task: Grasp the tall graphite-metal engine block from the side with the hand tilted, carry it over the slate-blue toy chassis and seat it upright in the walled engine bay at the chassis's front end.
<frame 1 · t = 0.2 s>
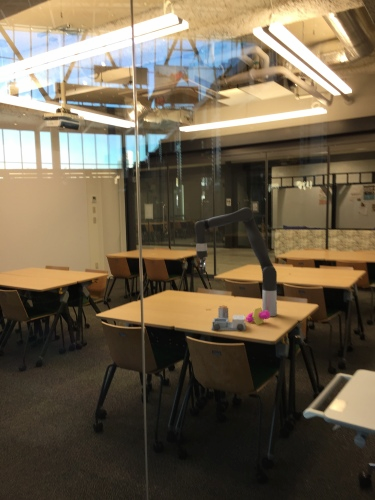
hand: (203, 273, 278), 28 cm above the table, tool pointing down, fingers open, 8 cm apart
chassis: (228, 327, 249), on the table
engine block: (223, 321, 262), on the table
toy: (258, 322, 258), on the table
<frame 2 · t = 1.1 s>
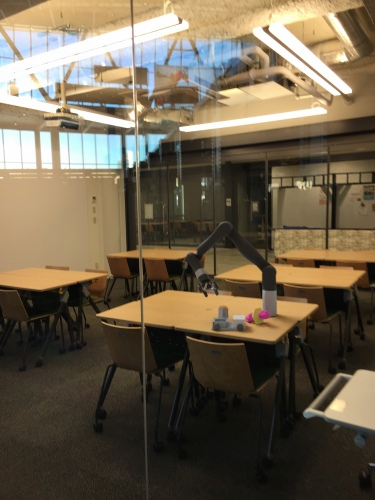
hand: (212, 295, 271), 15 cm above the table, tool tilted 45°, fingers open, 8 cm apart
nothing on the table moved.
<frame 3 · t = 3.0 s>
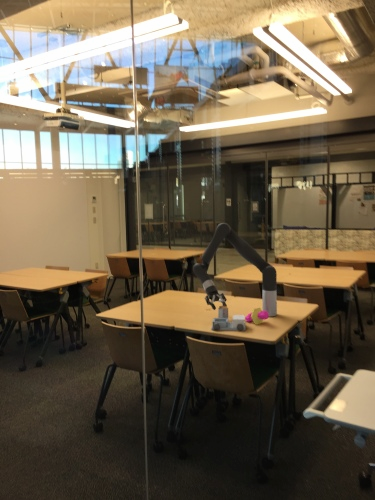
hand: (220, 308, 264), 8 cm above the table, tool tilted 45°, fingers open, 8 cm apart
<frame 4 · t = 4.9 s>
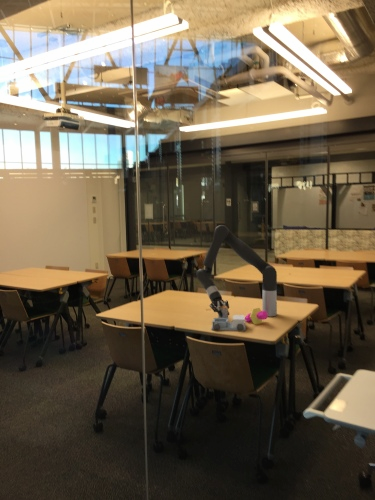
hand: (225, 315, 260), 4 cm above the table, tool tilted 45°, fingers closed on engine block, 4 cm apart
engine block: (223, 321, 262), on the table, touching gripper
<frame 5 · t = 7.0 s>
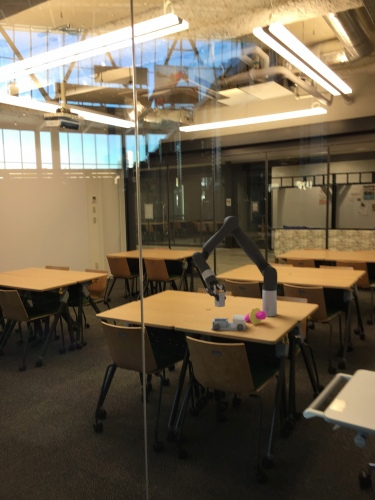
hand: (221, 300, 251), 16 cm above the table, tool tilted 45°, fingers closed on engine block, 4 cm apart
engine block: (219, 306, 253), point 12 cm above the table, touching gripper
when the fingers open (7 cm above the table, at t = 9.4 s): engine block drops 1 cm, resting on chassis.
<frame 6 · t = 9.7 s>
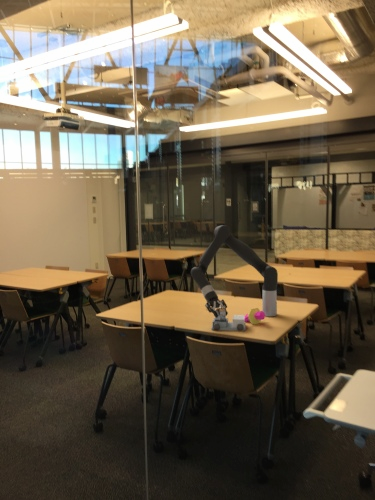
hand: (222, 315, 248), 7 cm above the table, tool tilted 45°, fingers open, 7 cm apart
engine block: (220, 324, 250), point 1 cm above the table, touching chassis
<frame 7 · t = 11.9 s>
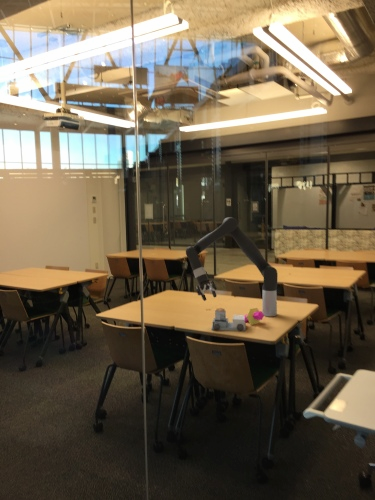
hand: (210, 298, 262), 15 cm above the table, tool tilted 25°, fingers open, 8 cm apart
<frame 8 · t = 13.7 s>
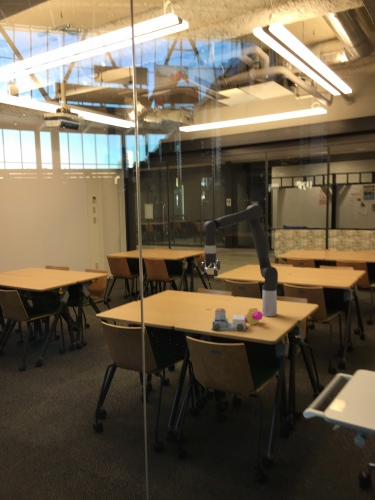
hand: (210, 277, 264), 28 cm above the table, tool pointing down, fingers open, 8 cm apart
at the end: engine block 0.2 cm from the target spot on the chassis, point 1.5 cm above the chassis's base; engine block tilted 0°; the gripper is holding nothing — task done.
